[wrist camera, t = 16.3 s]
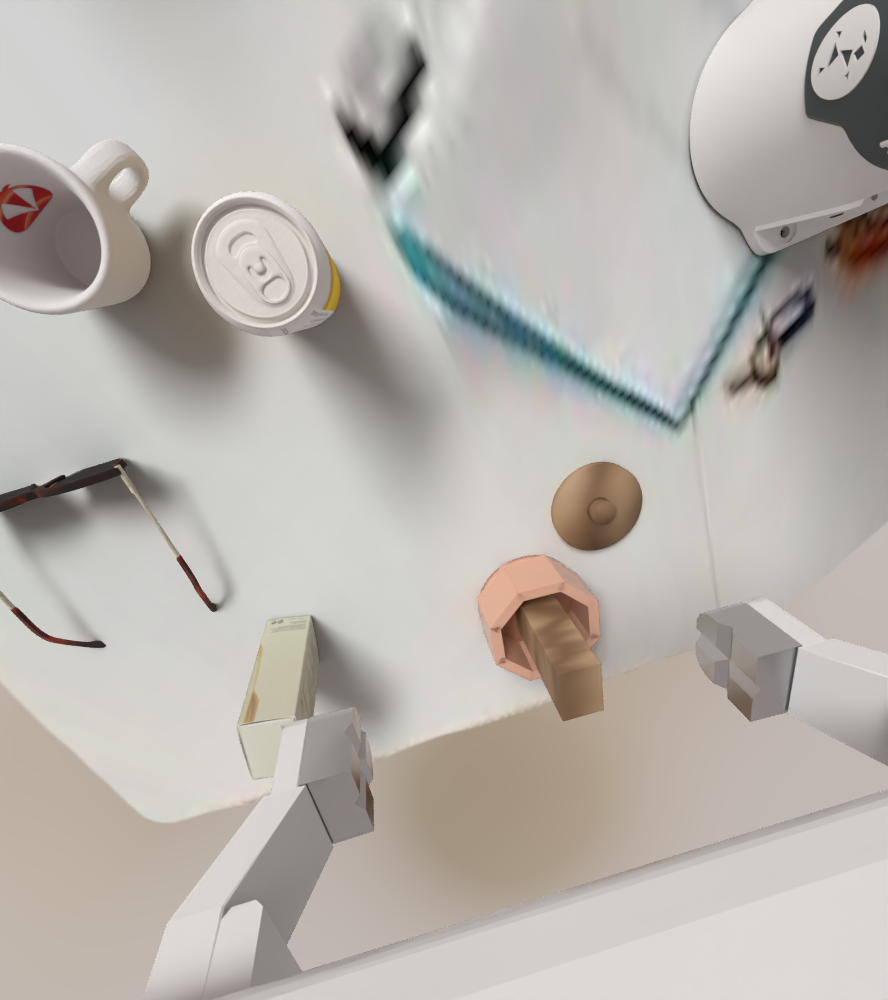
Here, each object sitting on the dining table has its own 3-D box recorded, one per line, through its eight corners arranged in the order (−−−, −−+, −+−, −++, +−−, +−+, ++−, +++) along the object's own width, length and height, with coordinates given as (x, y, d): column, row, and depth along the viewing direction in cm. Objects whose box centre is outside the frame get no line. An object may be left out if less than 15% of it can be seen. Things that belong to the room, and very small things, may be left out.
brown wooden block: (544, 581, 47) (600, 663, 36) (549, 620, 49) (603, 709, 38) (511, 589, 46) (557, 675, 35) (517, 628, 48) (563, 721, 37)
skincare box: (266, 618, 44) (233, 722, 33) (312, 613, 45) (295, 713, 34) (277, 671, 47) (249, 784, 35) (320, 665, 47) (307, 774, 36)
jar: (571, 544, 47) (597, 572, 42) (578, 627, 51) (602, 661, 46) (470, 569, 46) (484, 601, 41) (486, 651, 50) (500, 689, 45)
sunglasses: (143, 445, 37) (114, 468, 33) (235, 596, 44) (222, 632, 40) (-28, 497, 36) (-81, 528, 32) (94, 642, 44) (65, 683, 39)
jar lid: (633, 450, 44) (647, 457, 42) (637, 531, 48) (651, 541, 46) (544, 474, 44) (554, 483, 42) (555, 554, 47) (565, 566, 45)
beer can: (304, 219, 33) (262, 151, 19) (357, 297, 35) (354, 287, 21) (237, 271, 33) (149, 241, 20) (294, 344, 36) (252, 363, 22)
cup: (108, 117, 29) (23, 51, 22) (217, 224, 32) (174, 198, 25) (10, 248, 31) (-100, 227, 23) (123, 338, 34) (56, 345, 26)
